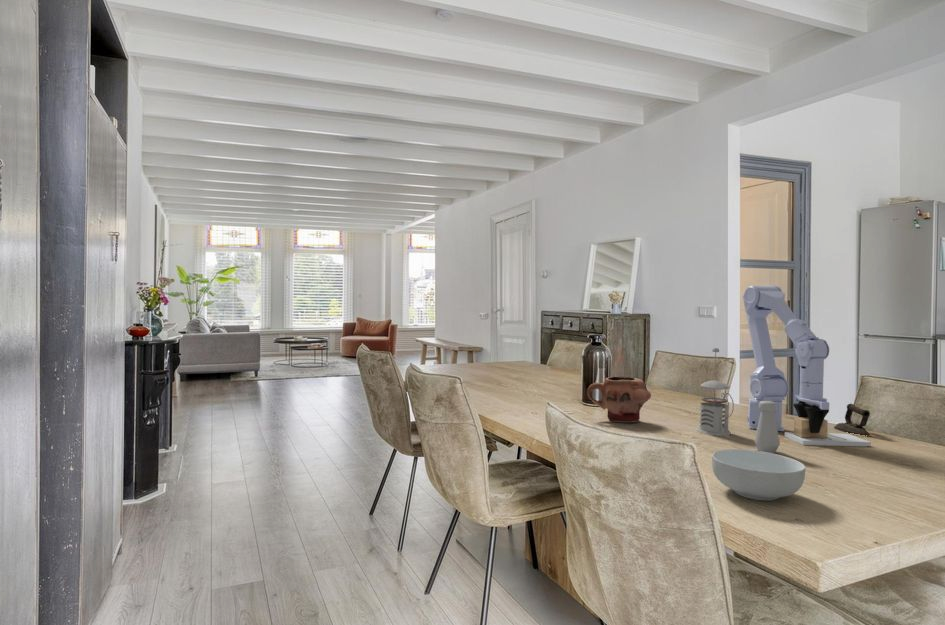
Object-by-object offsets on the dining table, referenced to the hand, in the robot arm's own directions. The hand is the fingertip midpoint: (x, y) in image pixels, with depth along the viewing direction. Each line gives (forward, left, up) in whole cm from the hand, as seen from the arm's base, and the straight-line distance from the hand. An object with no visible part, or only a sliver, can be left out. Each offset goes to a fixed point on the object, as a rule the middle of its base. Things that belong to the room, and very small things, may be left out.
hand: (810, 430), depth 163 cm
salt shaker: (-12, -18, -3) cm, 22 cm away
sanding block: (0, 0, -2) cm, 2 cm away
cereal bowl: (-17, -57, -3) cm, 60 cm away
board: (+4, +2, -3) cm, 5 cm away
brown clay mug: (-53, +5, -3) cm, 54 cm away
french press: (-24, 0, -3) cm, 25 cm away
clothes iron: (+15, +19, -3) cm, 24 cm away
